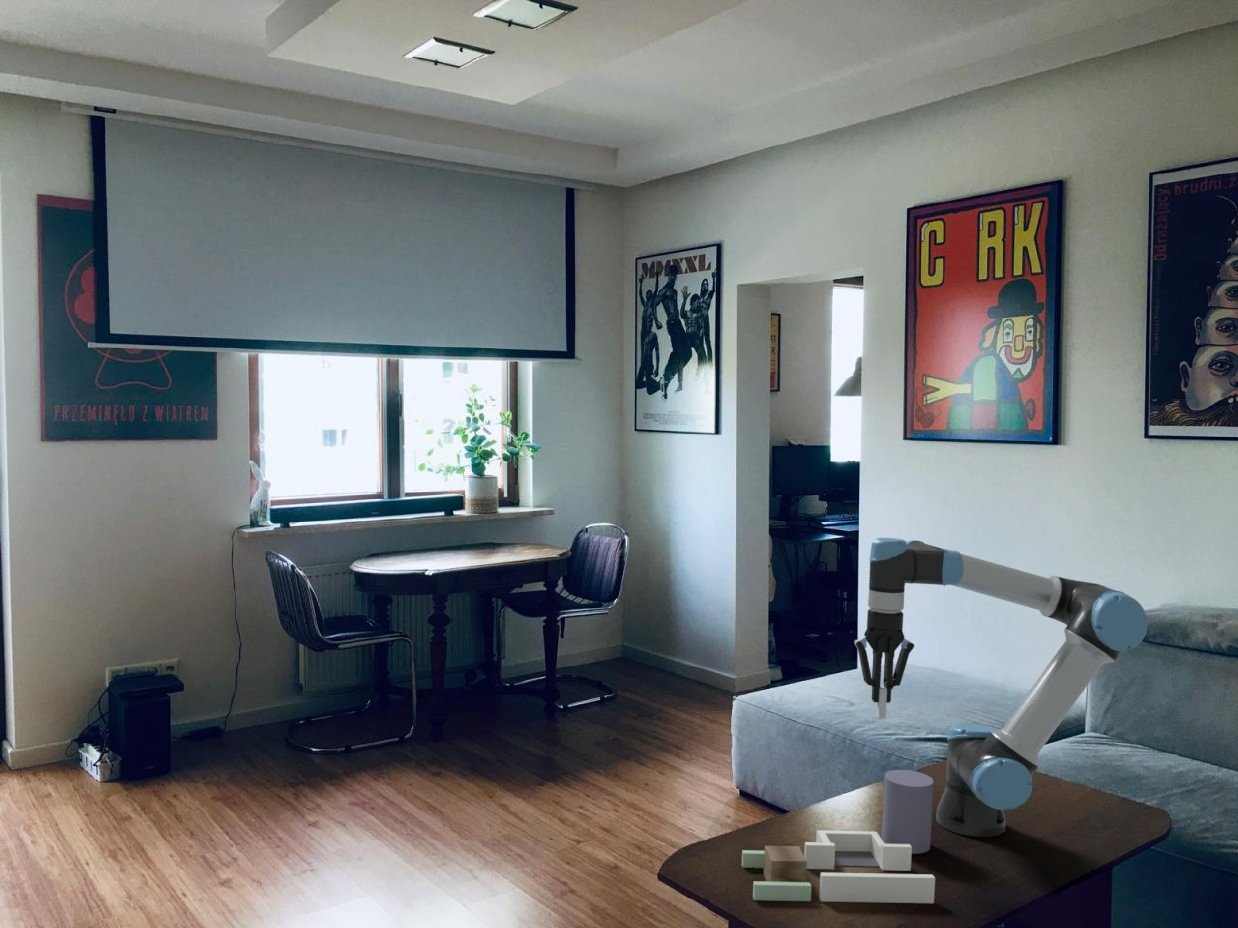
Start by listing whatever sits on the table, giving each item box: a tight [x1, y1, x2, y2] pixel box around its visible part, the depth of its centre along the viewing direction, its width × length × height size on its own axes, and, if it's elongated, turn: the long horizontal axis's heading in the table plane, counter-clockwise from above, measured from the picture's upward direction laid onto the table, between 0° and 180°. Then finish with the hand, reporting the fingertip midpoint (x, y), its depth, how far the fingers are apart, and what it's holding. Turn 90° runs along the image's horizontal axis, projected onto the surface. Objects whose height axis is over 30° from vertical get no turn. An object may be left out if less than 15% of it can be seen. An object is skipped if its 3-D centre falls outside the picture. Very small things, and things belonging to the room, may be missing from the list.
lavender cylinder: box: [881, 769, 934, 855], centre depth 224 cm, size 10×10×15 cm
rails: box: [741, 849, 813, 902], centre depth 204 cm, size 11×16×3 cm
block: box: [763, 845, 807, 882], centre depth 204 cm, size 7×7×6 cm
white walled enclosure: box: [803, 829, 936, 904], centre depth 209 cm, size 22×24×5 cm
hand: (880, 716), depth 223 cm, fingers closed
